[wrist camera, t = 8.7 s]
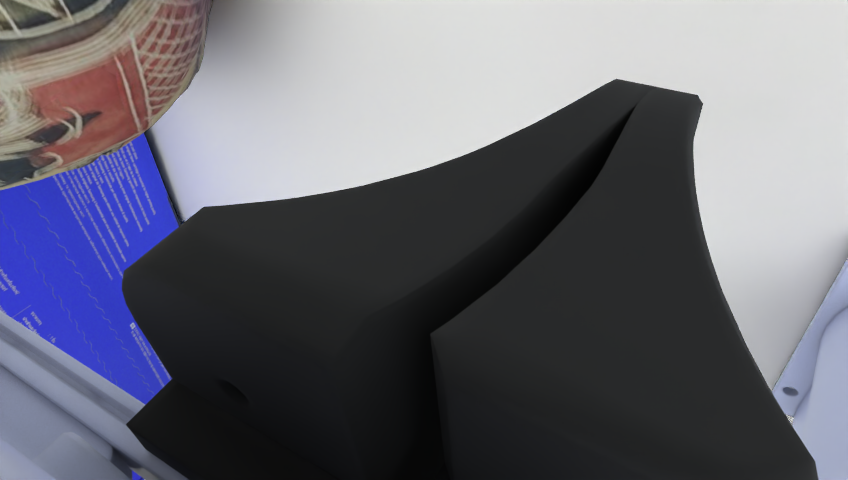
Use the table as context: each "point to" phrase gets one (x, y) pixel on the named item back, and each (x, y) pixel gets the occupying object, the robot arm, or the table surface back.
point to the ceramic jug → (89, 77)
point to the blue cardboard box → (87, 262)
